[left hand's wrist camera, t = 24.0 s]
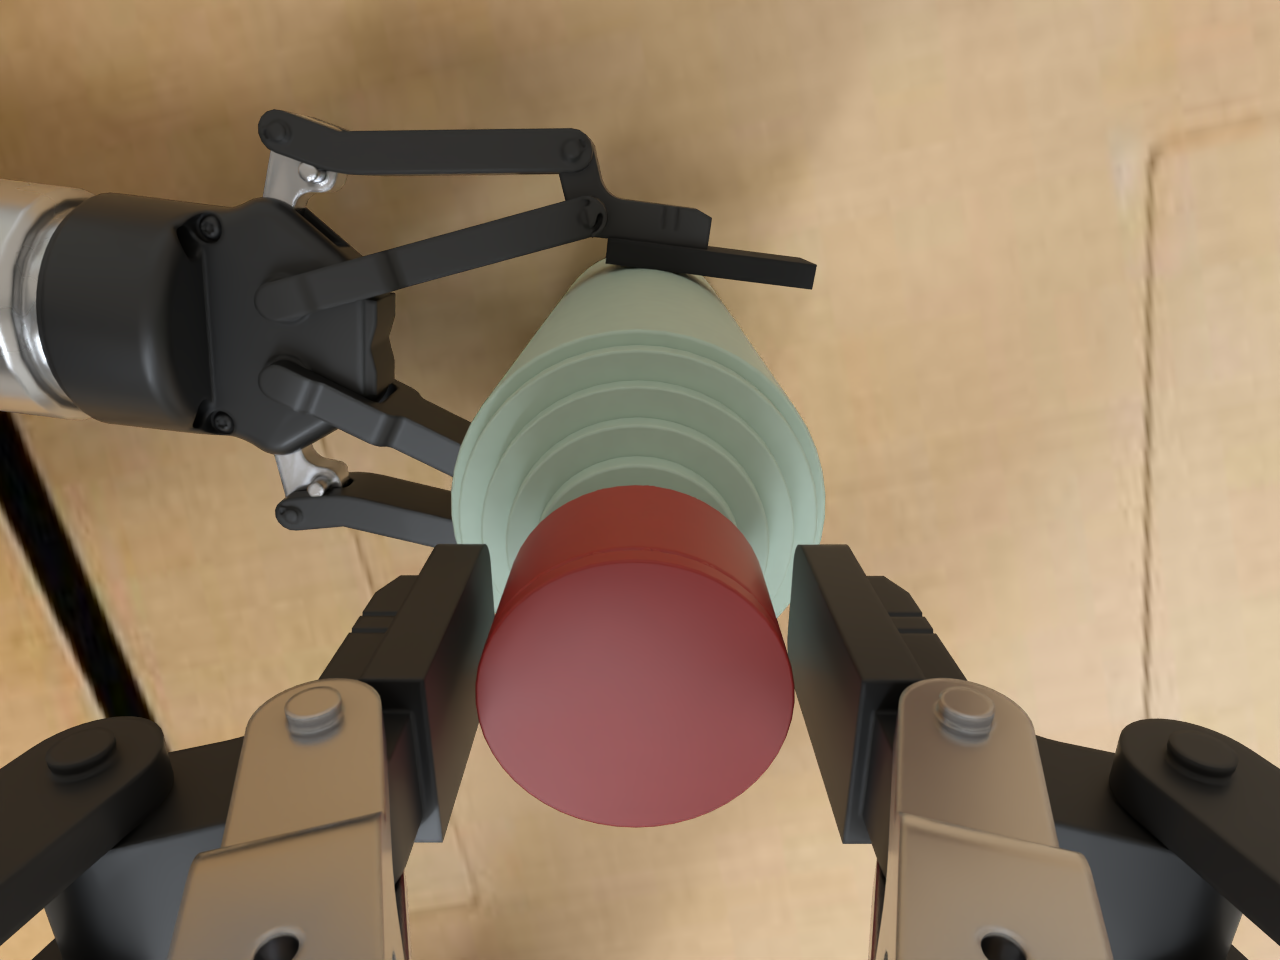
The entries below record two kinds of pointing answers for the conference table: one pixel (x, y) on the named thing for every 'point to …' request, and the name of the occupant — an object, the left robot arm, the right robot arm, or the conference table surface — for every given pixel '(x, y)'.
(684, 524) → the cap
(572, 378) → the bottle
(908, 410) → the conference table surface
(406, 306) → the conference table surface
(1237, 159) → the conference table surface
